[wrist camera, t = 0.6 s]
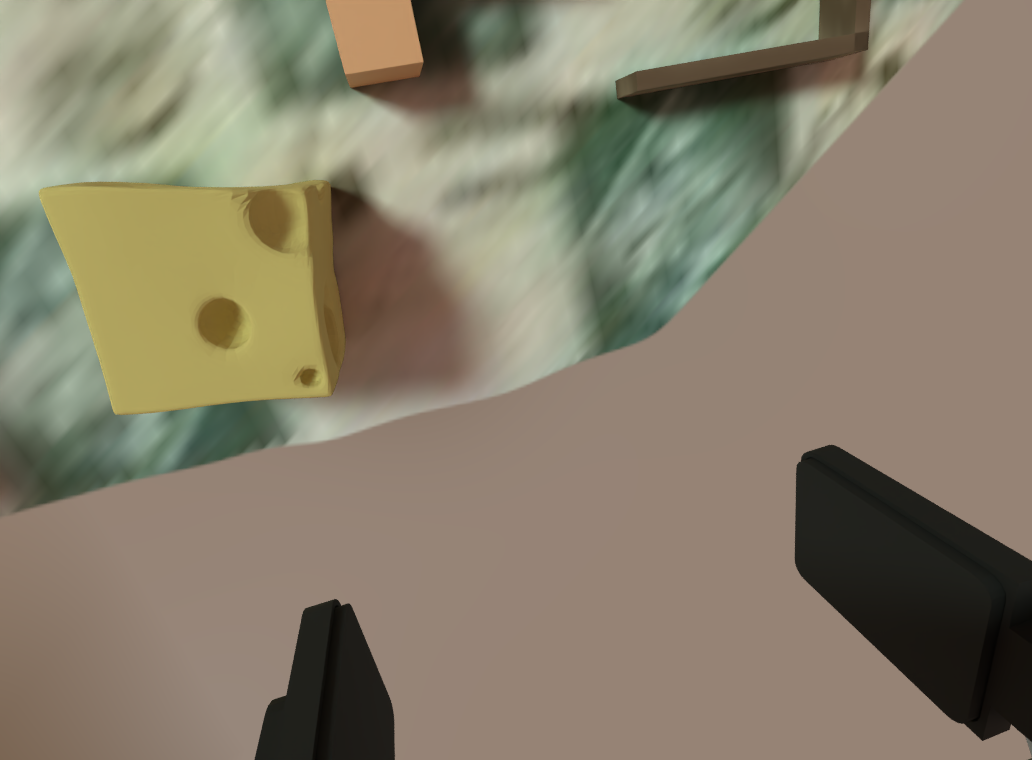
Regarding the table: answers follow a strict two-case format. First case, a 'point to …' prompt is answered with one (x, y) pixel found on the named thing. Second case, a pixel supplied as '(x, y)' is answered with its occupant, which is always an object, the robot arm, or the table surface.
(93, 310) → the cheese
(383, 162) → the table surface
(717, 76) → the brown wooden rack
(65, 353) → the table surface
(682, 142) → the table surface
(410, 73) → the t block
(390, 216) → the table surface
